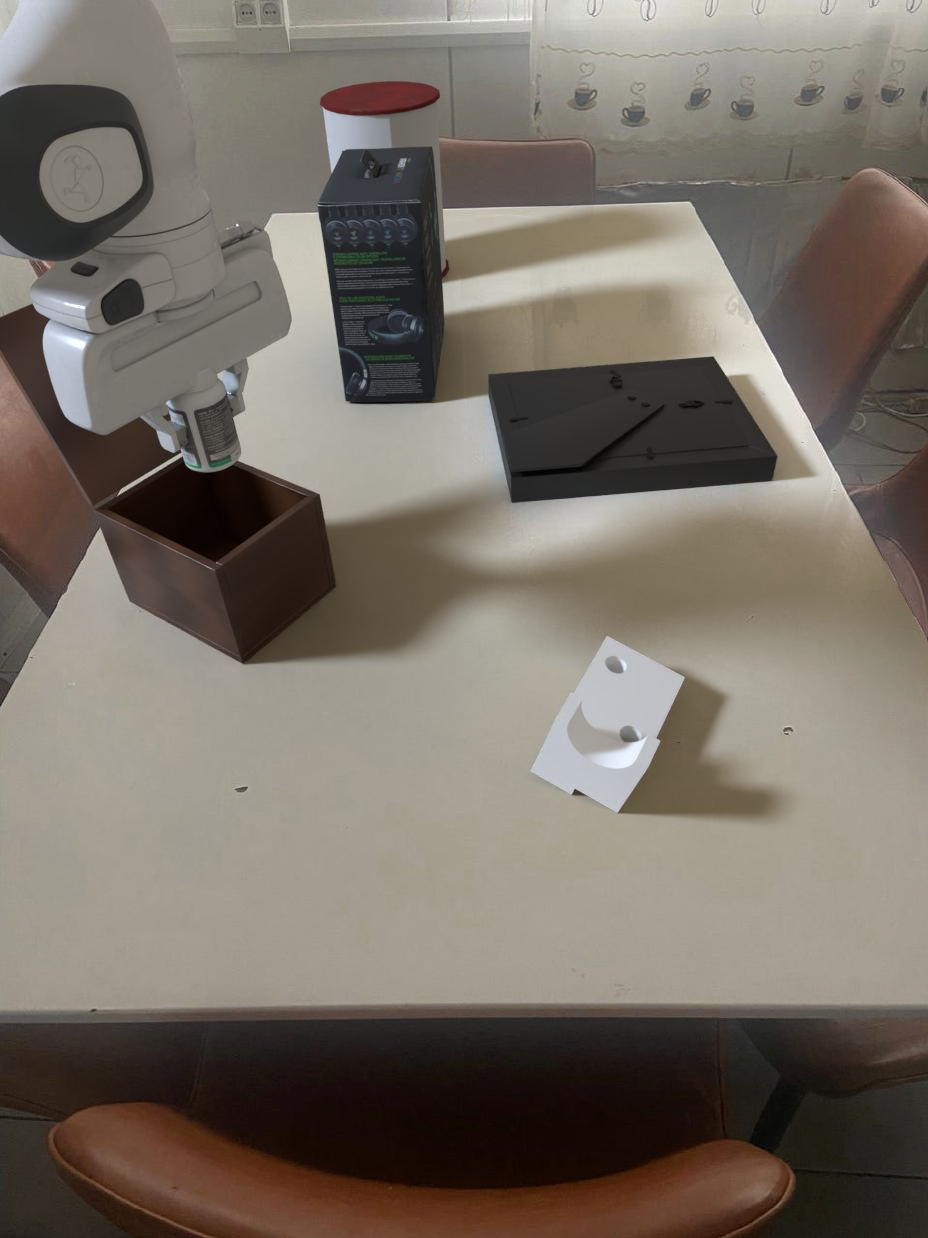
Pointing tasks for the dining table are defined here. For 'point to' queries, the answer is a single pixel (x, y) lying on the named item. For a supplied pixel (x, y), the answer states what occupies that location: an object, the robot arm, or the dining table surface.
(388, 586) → the dining table surface
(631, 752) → the bracket
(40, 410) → the lid
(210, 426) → the pill bottle
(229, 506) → the chest
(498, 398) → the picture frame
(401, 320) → the headset box
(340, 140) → the container
